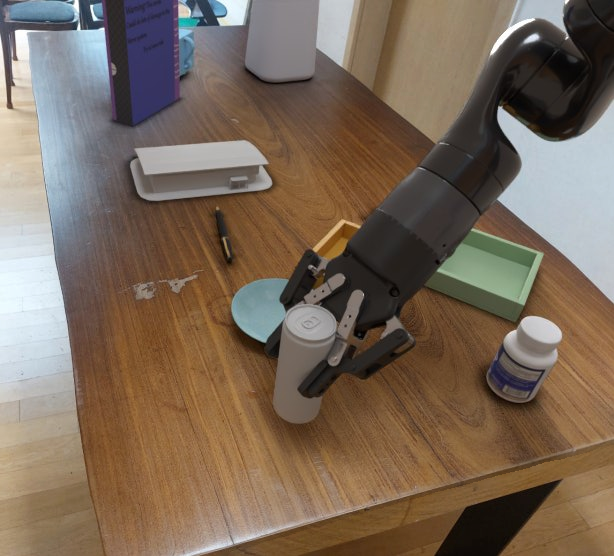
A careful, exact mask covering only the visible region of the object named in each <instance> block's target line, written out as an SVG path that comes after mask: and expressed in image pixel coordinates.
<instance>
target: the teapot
mask: <svg viewBox="0 0 614 556" xmlns="http://www.w3.org/2000/svg"><path fill="white" fill-rule="evenodd" d="M194 35H195V32H194V30H191V29H185V28H180V27H179V75H180V77H181V76H183V75H186V73H187V72H188V71H190V70H191V69H193V68H194V66H195V62H194V61H195V58H194V56H195V53H194V51H195V50H196V49H195V48H196V46H195V45H196V44H195V39H194V38H195V36H194Z"/></svg>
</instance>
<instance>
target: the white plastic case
mask: <svg viewBox="0 0 614 556" xmlns="http://www.w3.org/2000/svg"><path fill="white" fill-rule="evenodd" d="M133 150H134V152H135V153H136V155H137V157H136V158H134V159H133V160H131V162H130V164H129V167H130V170H131V174H132V178H133V182H134V185H135V189H136V191H137V194H138V195H139V197H140V198H141V199H144V200H146V201H150V202H151V201H154V202H159V201H171V200H180V199H189V198H190V199H191V198H197V197H198V198H199V197H201V198H202V197H209V196H219V195H227V194H228V195H229V194H240V193H247V192H249V193H250V192H258V191H265V190H268V189H270V188H271V187H272V185H273V181H272V178H271V176H270V175H269V173H268V172H267V171H266V169H265V168H264V166H269V165H270V163H269V161H268V160H267V159H266V157H265V156H264V154H262V152H261V151H260V150H259V149H258V148H257V147H256V146H255V145H254V144H253V143H251V142H250V141H248V140H245V139H242V140H231V141H217V142H216V141H215V142H203V143H190V144H177V145H175V144H174V145H164V146H162V145H161V146H150V147H137V148H133Z"/></svg>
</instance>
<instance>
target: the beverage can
mask: <svg viewBox="0 0 614 556" xmlns="http://www.w3.org/2000/svg"><path fill="white" fill-rule="evenodd" d="M337 329H338V322H337V321H336V319H335V317H334V315H332V313H330V312H329V311H328V310H326V309H325V308H323V307H320V306H317V305H312V304H302V305H298V306H295V307H293V308H291V309H290V310H289V311H288V312H287V314H286V316H285V319H284V321H283V326H282V334H281V342H280V350H279V358H278V359H277V367H276V375H275V383H274V390H273V398H272V405H273V409H274V410H275V412H276V414H277V415H278V416H279V417H280V418H281V419H283V420H284V421H286V422H288V423H291V424H296V425H299V424H300V425H303V424H306V423H310V422H312V421H313V420H314V419H315V418H317V416H318V414H319V412H320V410H321V405H322V400H323V396H324V394H323V395H322V396H320V397H318V398H316V397H313V398H311V399H309V398H306V397H303V396H302V395H301V394H300V393H299V392H298V391H297V388H298V387H299V385H300V384H301V383H302V382H303V381H304V380H305V379H306V378H307V376H308V375H309V374H310V373H311V372H312V371H313V370H314V369H315V367H316V366H317V365H318V364H319V363H320V362H321V361H322V360H326V361H327V360H328V356H329V354H330V351H331V349H332V347H333V345H334V343H335V340H336V337H335V334H336V331H337Z"/></svg>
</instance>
